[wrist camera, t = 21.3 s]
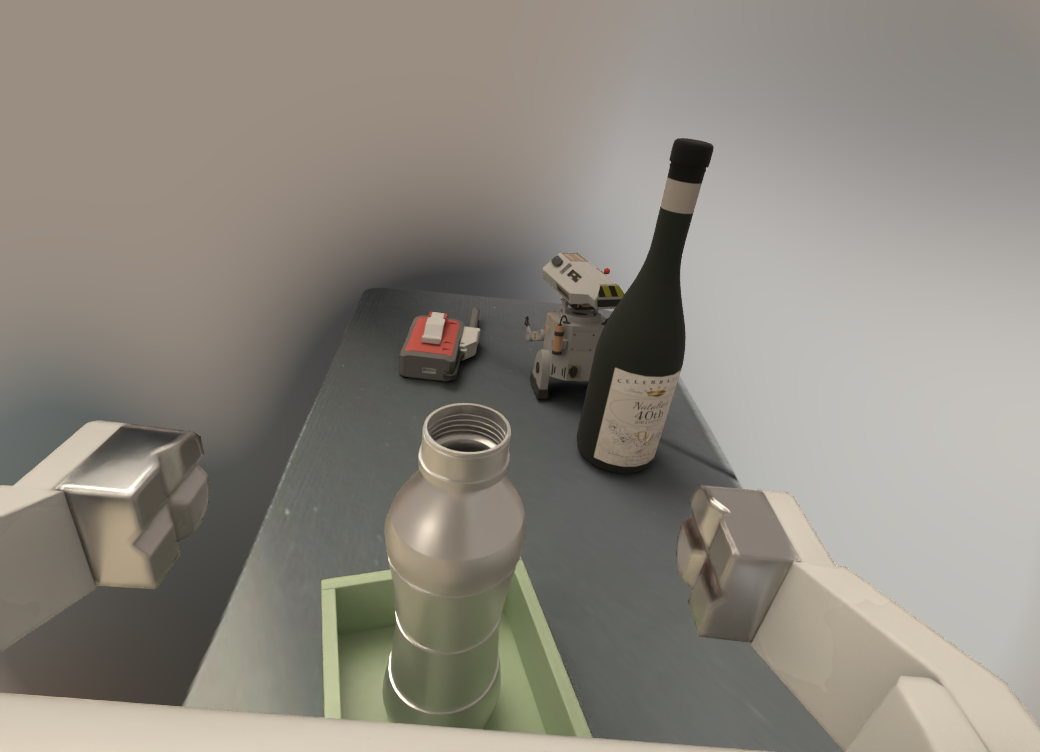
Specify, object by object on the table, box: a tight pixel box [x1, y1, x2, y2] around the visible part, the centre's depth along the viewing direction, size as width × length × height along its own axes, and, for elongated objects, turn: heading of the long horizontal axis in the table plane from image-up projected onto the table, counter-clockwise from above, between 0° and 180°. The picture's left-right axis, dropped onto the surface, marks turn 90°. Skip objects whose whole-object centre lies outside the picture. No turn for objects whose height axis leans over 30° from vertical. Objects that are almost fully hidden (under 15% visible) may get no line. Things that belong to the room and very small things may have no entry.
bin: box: [321, 556, 592, 738], centre depth 33 cm, size 14×13×5 cm
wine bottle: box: [577, 138, 713, 473], centre depth 51 cm, size 8×8×30 cm
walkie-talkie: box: [399, 308, 480, 382], centre depth 73 cm, size 9×4×20 cm
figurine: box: [524, 253, 625, 398], centre depth 66 cm, size 9×12×15 cm
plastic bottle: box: [382, 403, 527, 730], centre depth 29 cm, size 6×7×20 cm
